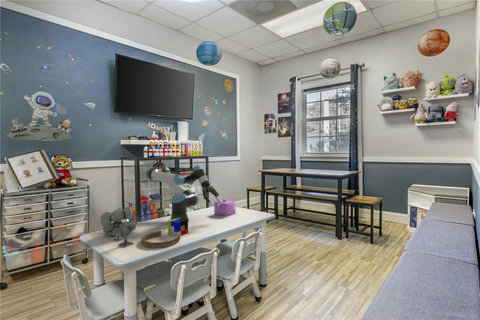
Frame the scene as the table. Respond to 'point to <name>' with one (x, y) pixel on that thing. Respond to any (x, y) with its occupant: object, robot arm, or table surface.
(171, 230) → the puzzle toy
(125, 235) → the dial gauge stand
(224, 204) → the purple lidded box
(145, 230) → the table surface
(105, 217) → the plush elephant
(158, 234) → the rim
